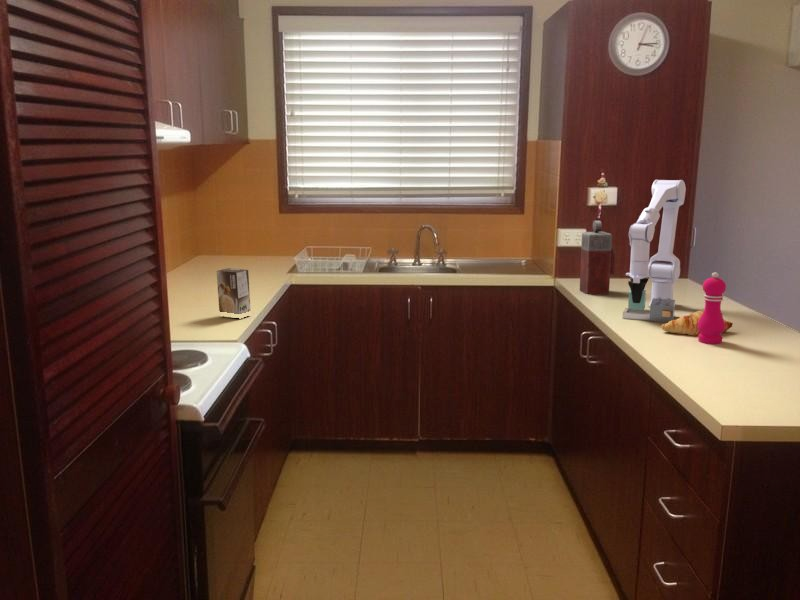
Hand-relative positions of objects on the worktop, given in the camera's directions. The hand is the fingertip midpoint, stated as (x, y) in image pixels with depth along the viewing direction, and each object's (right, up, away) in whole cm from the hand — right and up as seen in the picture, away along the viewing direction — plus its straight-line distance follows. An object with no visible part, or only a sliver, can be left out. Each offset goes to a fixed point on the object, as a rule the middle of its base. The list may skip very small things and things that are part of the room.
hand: (637, 301), depth 233 cm
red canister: (-1, +3, +44) cm, 44 cm away
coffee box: (-134, -5, +7) cm, 134 cm away
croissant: (+11, -10, -20) cm, 25 cm away
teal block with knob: (0, -2, 0) cm, 2 cm away
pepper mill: (+10, -12, -31) cm, 35 cm away
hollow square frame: (+3, -5, -1) cm, 6 cm away
